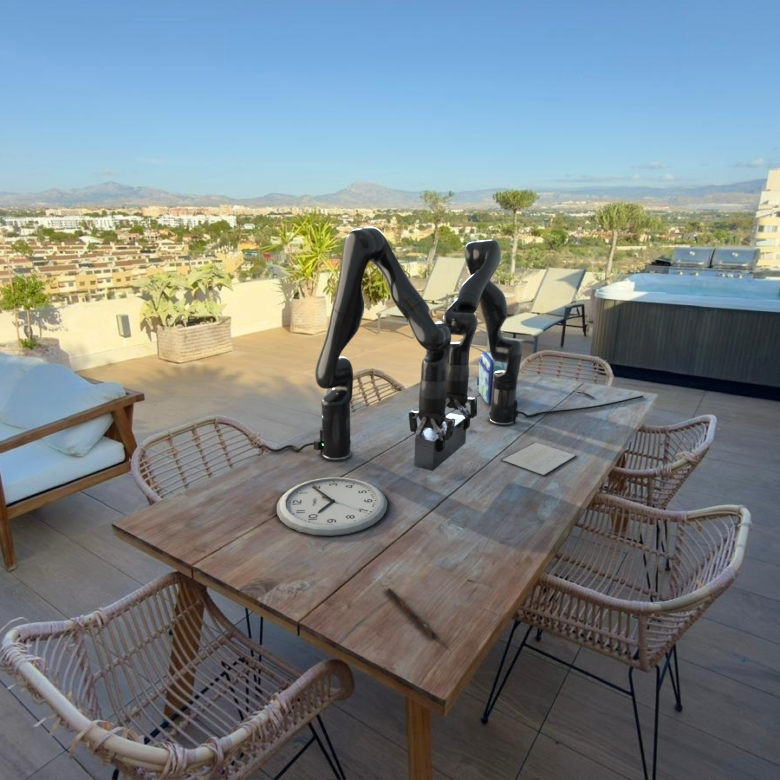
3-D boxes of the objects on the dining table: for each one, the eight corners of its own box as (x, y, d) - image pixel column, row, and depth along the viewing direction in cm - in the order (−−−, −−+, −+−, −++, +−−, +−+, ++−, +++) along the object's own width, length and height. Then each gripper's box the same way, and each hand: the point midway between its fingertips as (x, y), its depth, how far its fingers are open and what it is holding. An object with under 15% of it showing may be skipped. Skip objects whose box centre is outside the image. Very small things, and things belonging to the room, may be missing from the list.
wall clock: (392, 527, 129) (268, 531, 127) (391, 533, 130) (269, 537, 127) (383, 473, 158) (282, 475, 155) (383, 478, 158) (282, 480, 156)
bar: (448, 439, 171) (449, 413, 169) (465, 443, 168) (467, 416, 166) (414, 466, 152) (415, 436, 149) (432, 471, 149) (434, 441, 146)
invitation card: (535, 442, 186) (575, 454, 176) (535, 442, 187) (575, 455, 176) (502, 459, 172) (543, 474, 162) (502, 460, 172) (543, 475, 162)
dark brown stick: (387, 592, 109) (387, 587, 109) (388, 591, 109) (388, 587, 109) (431, 637, 97) (431, 633, 97) (433, 636, 97) (433, 632, 97)
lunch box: (475, 390, 246) (478, 346, 240) (498, 390, 246) (501, 347, 240) (484, 408, 221) (487, 360, 215) (509, 409, 221) (513, 360, 215)
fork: (592, 399, 235) (592, 395, 235) (571, 389, 250) (572, 385, 249) (597, 399, 236) (597, 394, 235) (576, 388, 251) (576, 384, 250)
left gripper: (403, 392, 147) (402, 447, 152) (450, 402, 140) (447, 459, 145) (416, 386, 153) (414, 439, 158) (461, 394, 147) (458, 449, 152)
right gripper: (429, 375, 160) (427, 425, 165) (473, 383, 153) (469, 434, 158) (440, 370, 166) (437, 418, 171) (482, 377, 160) (478, 427, 164)
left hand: (430, 448), depth 152 cm, fingers closed on bar, 6 cm apart
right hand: (453, 426), depth 165 cm, fingers open, 8 cm apart
